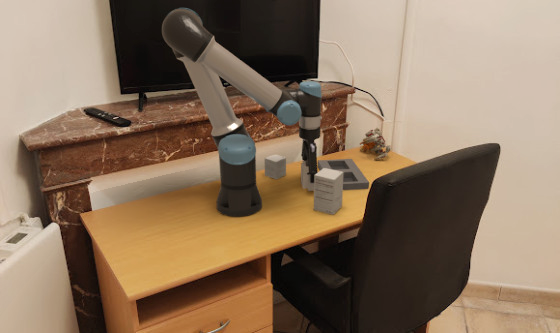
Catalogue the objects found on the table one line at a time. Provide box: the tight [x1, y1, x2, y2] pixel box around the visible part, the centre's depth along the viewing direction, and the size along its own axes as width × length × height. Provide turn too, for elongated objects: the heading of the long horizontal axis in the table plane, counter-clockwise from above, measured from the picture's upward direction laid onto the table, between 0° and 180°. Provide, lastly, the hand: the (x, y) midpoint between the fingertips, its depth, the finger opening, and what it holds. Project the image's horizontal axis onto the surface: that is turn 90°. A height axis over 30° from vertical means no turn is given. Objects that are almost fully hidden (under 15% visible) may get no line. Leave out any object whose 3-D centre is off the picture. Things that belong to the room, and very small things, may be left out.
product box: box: [264, 153, 287, 180], centre depth 180 cm, size 6×6×7 cm
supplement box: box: [313, 168, 344, 215], centre depth 153 cm, size 7×7×13 cm
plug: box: [300, 161, 309, 189], centre depth 171 cm, size 5×5×9 cm
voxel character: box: [359, 127, 391, 161], centre depth 198 cm, size 11×10×15 cm
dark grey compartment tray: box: [317, 158, 370, 191], centre depth 179 cm, size 14×24×2 cm, turn 7°
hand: (308, 183), depth 172 cm, fingers open, 11 cm apart
